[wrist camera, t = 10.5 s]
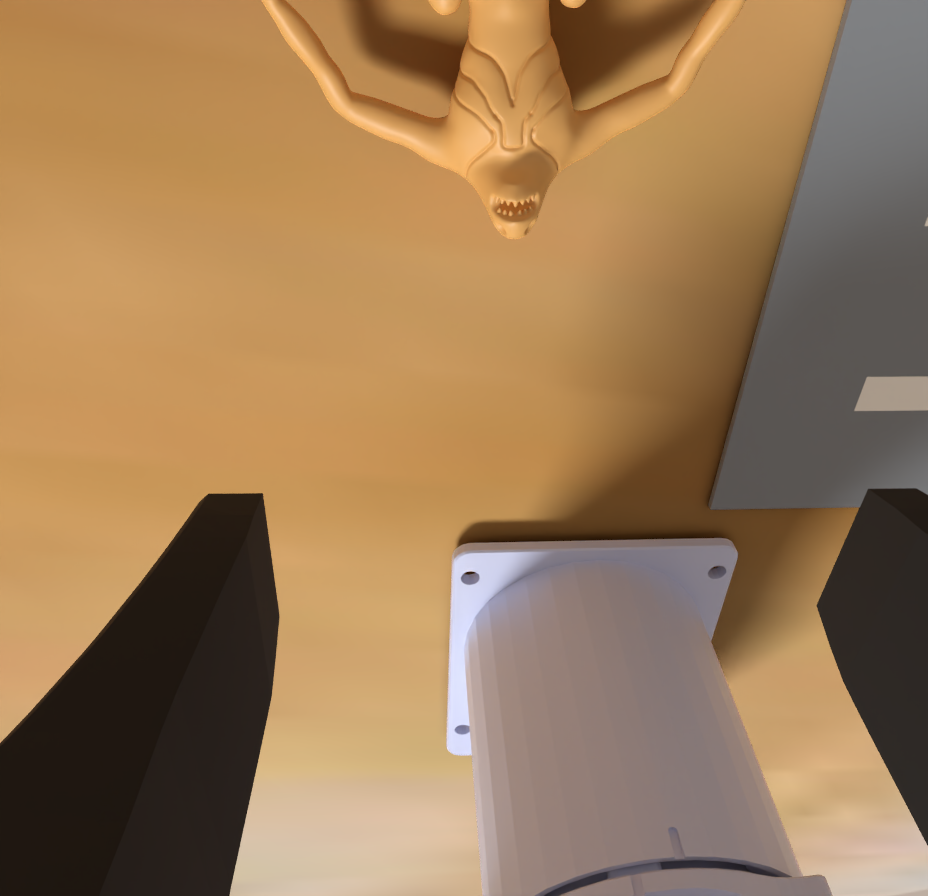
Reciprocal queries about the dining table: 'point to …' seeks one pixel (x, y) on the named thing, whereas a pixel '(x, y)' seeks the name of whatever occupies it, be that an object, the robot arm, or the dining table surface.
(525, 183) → the figurine
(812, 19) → the dining table surface
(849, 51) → the grey tile
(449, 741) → the robot arm
